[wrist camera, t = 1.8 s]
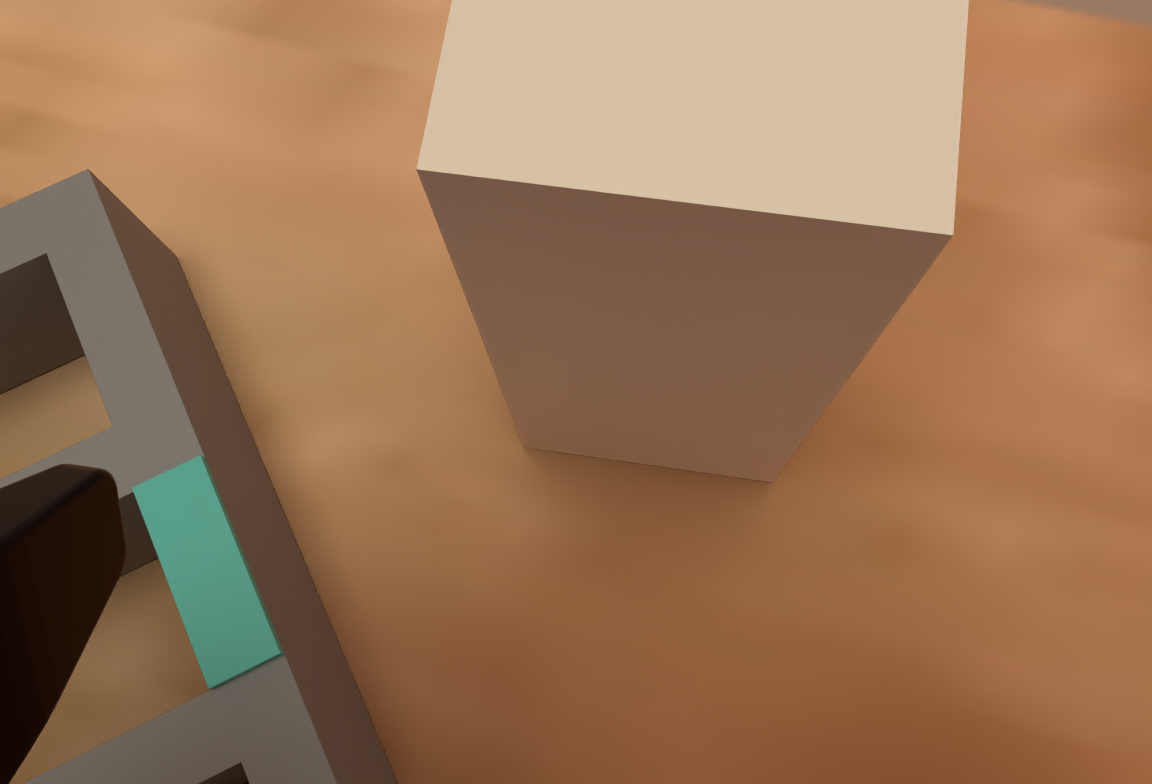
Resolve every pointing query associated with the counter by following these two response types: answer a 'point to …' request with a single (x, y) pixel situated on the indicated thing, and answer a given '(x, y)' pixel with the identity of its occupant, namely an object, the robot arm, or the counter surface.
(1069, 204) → the counter surface
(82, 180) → the frame
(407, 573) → the counter surface
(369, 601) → the counter surface
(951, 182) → the block
